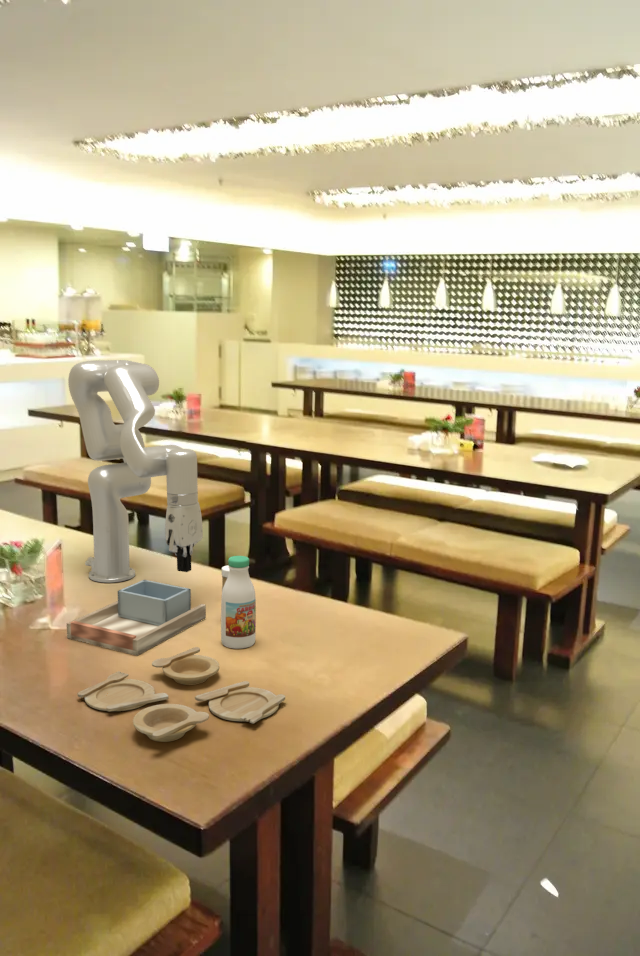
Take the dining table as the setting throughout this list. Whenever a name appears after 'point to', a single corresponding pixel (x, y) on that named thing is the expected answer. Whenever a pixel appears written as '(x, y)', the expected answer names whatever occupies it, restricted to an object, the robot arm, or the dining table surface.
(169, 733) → the tableware set
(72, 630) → the bay
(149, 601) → the box
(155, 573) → the dining table surface
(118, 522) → the robot arm
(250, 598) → the milk bottle
